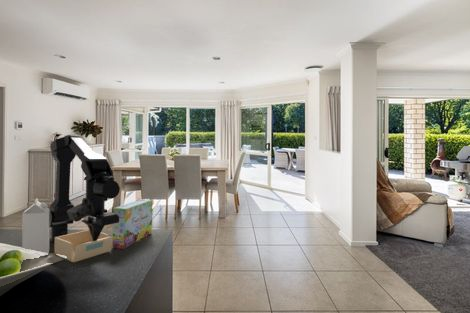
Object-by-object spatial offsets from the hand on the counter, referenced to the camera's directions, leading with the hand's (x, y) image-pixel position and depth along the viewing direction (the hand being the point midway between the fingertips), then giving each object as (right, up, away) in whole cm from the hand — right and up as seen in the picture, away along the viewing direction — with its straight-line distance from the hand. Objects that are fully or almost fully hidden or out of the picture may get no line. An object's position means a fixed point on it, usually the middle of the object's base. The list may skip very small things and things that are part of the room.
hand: (94, 241), depth 102 cm
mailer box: (-6, -6, +4) cm, 9 cm away
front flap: (-1, -6, +1) cm, 6 cm away
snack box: (+6, -6, +20) cm, 22 cm away
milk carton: (-21, -6, +2) cm, 22 cm away
